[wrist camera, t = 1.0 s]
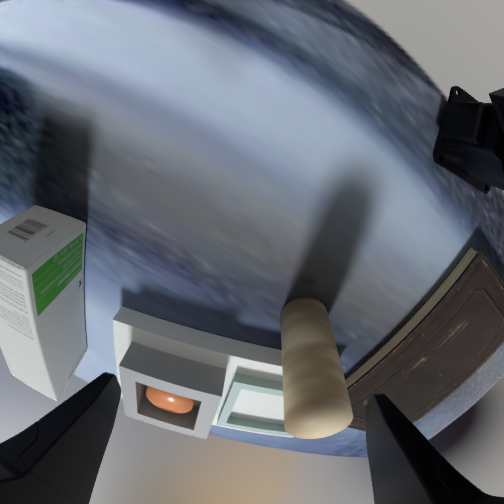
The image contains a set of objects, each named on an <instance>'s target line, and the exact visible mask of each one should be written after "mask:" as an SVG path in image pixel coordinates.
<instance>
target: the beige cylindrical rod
mask: <svg viewBox="0 0 504 504" xmlns="http://www.w3.org/2000/svg"><path fill="white" fill-rule="evenodd" d="M280 324H281V347H282V372H283V403H284V429H285V431H286V432H287V433H288V434H290V435H292V436H294V437H298V438H304V439H315V438H323V437H327V436H330V435H333V434H336V433H338V432H340V431H342V430H343V429H345V428H346V427H347V426H348V425H349V424H350V423H351V422H352V419H353V413H352V408H351V404H350V399H349V395H348V391H347V386H346V382H345V378H344V374H343V370H342V366H341V362H340V358H339V354H338V350H337V346H336V342H335V339H334V335H333V331H332V327H331V324H330V320H329V317H328V313H327V310H326V307H325V306H324V304H323V303H322V302H321V301H319V300H317V299H315V298H310V297H302V298H297V299H295V300H292V301H291V302H289V303H288V304H287V305H286V306H285V307H284V308H283V310H282V312H281V315H280Z"/></svg>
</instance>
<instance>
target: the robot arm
mask: <svg viewBox="0 0 504 504" xmlns="http://www.w3.org/2000/svg"><path fill="white" fill-rule="evenodd" d="M456 91H457V92H458V95H457V94H456ZM489 96H490V98H491V101H492V103H482V102H478V101H477V100H476V99H474V98H473V97H472V96H471V95H469V94H468V93H467V92H465V91H464V90H463V89H461V88H460V87H458V86H454V87H452V88H451V90H450V95H449V99H448V103H447V104H446V108H445V112H444V116H443V120H442V124H441V128H440V131H439V134H440V135H439V139H438V142H437V145H436V149H435V152H434V156H433V158H434V161H435V163H436V164H438V165H440V166H441V167H443V168H445V169H446V170H448V171H450V172H451V173H453V174H455V175H456V176H458V177H459V178H461V179H463V180H464V181H466V182H467V183H469V184H470V185H472V186H473V187H475V188H476V189H478V190H479V191H481V192H483V193H485V194H487V193H488V192H489V190H490V187H491V185H492V186H494V187H497V188H499V189H502V190H504V88H502V89H500V90H497V91H494V92H492V93H489ZM440 155H441V160H440V161H439V156H440ZM484 187H485V189H484ZM120 397H121V387H120V384H119V382H118V380H117V378H116V376H115V375H114V374H111V373H107V372H105V373H103V374H101V375H100V376H99V377H97V378H96V379H94V380H93V381H92V382H90V383H89V384H88V385H86V386H85V387H83V388H82V389H81V390H79V391H78V392H77V393H75V394H74V395H73V396H71V397H70V398H68V399H67V400H66V401H64V402H63V403H62V404H60V405H59V406H57V407H56V408H55V409H53V410H52V411H50V412H49V413H48V414H46V415H45V416H44V417H42V418H41V419H40V420H39V421H37V422H35V423H34V424H32V425H31V426H29V427H28V428H27V429H25V430H24V431H22V432H20V433H19V434H17V435H15V436H14V437H12V438H10V439H8V440H6V441H4V442H2V443H0V504H89V501H90V498H91V494H92V491H93V487H94V484H95V481H96V477H97V474H98V471H99V468H100V465H101V462H102V459H103V455H104V452H105V450H106V447H107V444H108V441H109V438H110V435H111V432H112V429H113V426H114V422H115V418H116V413H117V409H118V405H119V401H120ZM365 426H366V444H367V453H368V459H369V465H370V472H371V479H372V486H373V493H374V502H375V504H504V497H496V496H491V495H488V494H486V493H484V492H482V491H481V490H480V489H479V488H477V487H476V486H475V485H474V484H472V483H471V482H470V481H469V480H467V479H466V478H465V477H464V476H463V475H462V474H460V473H459V472H458V471H457V470H456V469H455V468H454V467H453V466H452V465H451V464H450V463H449V462H448V461H447V460H446V459H445V458H444V457H443V456H441V454H440V453H439V452H438V450H436V448H435V447H434V446H433V445H432V444H431V443H430V442H429V441H428V440H427V439H426V438H425V436H424V435H423V434H422V433H421V432H420V431H419V430H418V429H417V428H416V427H415V426H414V425H413V424H412V422H411V421H410V420H409V419H408V418H407V417H406V416H405V415H404V414H403V413H402V412H401V411H400V410H399V409H398V407H397V406H396V405H395V404H394V403H393V402H392V401H391V400H390V399H389V398H388V397H387V396H386V395H385V394H384V393H376V394H373V395H372V396H371V398H370V399H369V401H368V403H367V405H366V407H365Z"/></svg>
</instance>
